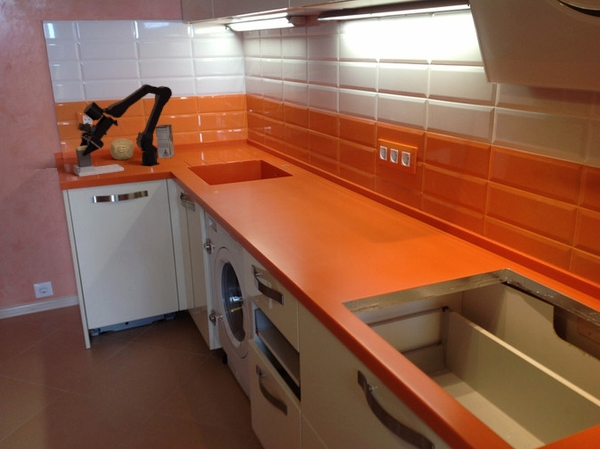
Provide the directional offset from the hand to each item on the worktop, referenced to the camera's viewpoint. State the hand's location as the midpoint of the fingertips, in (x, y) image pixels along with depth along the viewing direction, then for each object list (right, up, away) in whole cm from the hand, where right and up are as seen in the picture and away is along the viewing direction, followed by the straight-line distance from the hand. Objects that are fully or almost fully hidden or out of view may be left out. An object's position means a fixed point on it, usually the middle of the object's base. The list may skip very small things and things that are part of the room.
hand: (80, 154), depth 249 cm
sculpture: (+8, +2, +34) cm, 36 cm away
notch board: (+6, -7, +7) cm, 12 cm away
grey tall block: (+1, -7, +3) cm, 8 cm away
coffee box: (+30, +4, +39) cm, 49 cm away
